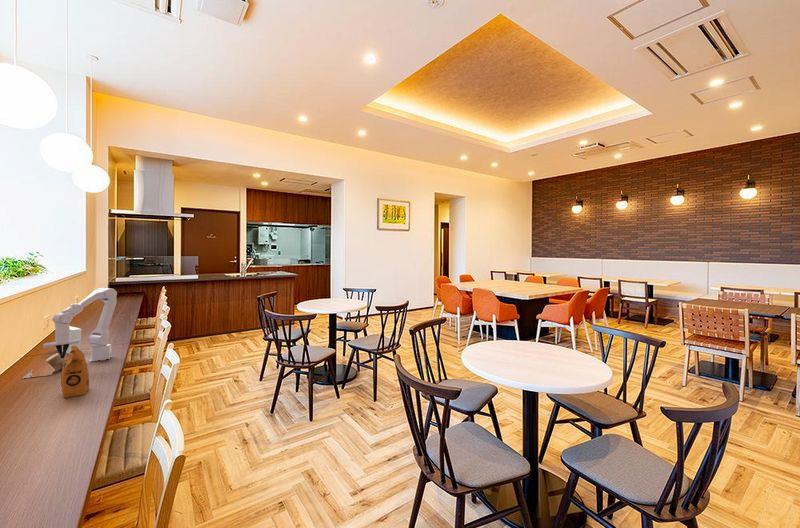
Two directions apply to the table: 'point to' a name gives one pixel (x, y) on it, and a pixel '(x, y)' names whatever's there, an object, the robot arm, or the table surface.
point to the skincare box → (74, 338)
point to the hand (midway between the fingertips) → (62, 357)
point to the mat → (31, 375)
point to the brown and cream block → (56, 361)
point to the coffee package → (74, 374)
